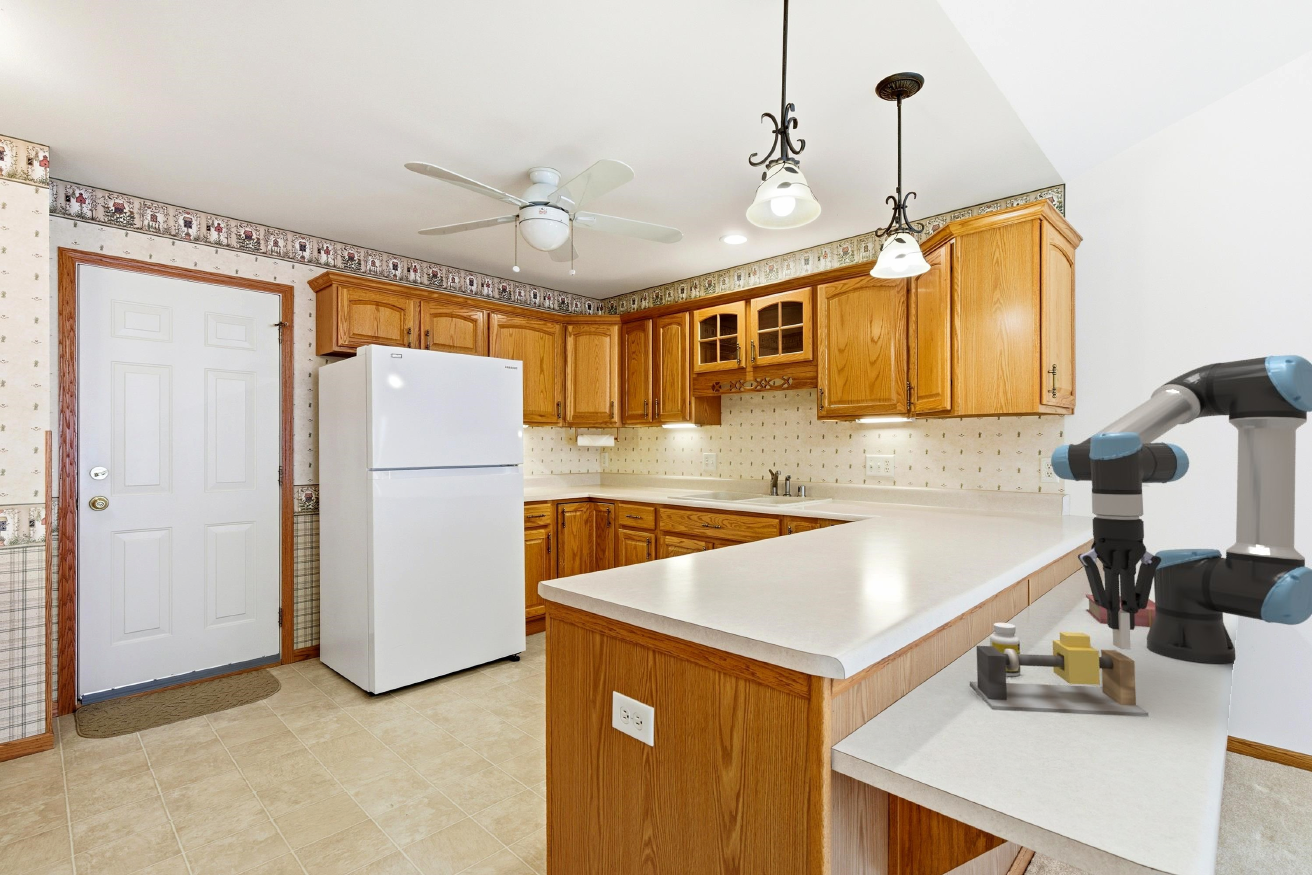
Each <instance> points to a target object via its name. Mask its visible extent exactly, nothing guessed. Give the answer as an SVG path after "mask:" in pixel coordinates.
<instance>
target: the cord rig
mask: <svg viewBox="0 0 1312 875" xmlns="http://www.w3.org/2000/svg"><path fill="white" fill-rule="evenodd" d="M1100 650H1101V651H1100V654H1101V655H1100V656H1099V670H1100V669H1101V682H1102V683H1101V684H1102V685H1101V686H1096V685H1094V686H1093V685H1092V686H1090V685H1070V684H1069V685H1064V684H1062V685H1061V684H1041V683H1039V684H1037V683H1019V682H1018V683H1015V682H1014V683H1012V682H1007V676H1006V668H1007V669H1008V670H1013V671H1017V670H1018V667H1019V666H1020V667H1021V666H1022V667H1023V666H1024V667H1050V668H1053V667H1064V656H1057V655H1053V654H1024V653H1022V654H1021V653H1020V654H1017V653H1016V651H1015V650H1014V649H1005V650H1004V654H1002V653H1001V652H1000V651H998V650H997V649H996V648H995V647H994V646H990V645H976V671H977V672H976V673H977V676H976V677H977V678H976V679H977V681H969V686H971V687H972V689H973V690H974V691H975V692H976V693H977V694H978V695H979V696H980V697H981V698H982V700H983V701H984V702H985V703H986V704H987V705H988V706H989V707H990V708H991V710H1003V711H1004V710H1005V711H1023V712H1024V711H1025V712H1027V711H1028V712H1042V713H1043V712H1047V713H1064V714H1065V713H1066V714H1068V713H1070V714H1088V715H1089V714H1090V715H1091V714H1093V715H1107V716H1109V715H1110V716H1111V715H1112V716H1131V717H1132V716H1134V717H1149V715H1150V714H1149V712H1147V711H1146V710H1145V709H1144V708H1142V707H1140V706H1139V705H1137V696H1136V695H1137V694H1136V693H1137V692H1136V691H1137V690H1136V672H1135V671H1136V669H1135V667H1136V666H1135V660H1134V659H1132V658H1131V657H1129V656H1127V655H1125V654H1123V653H1121V652H1119V651H1118V650H1116V649H1100Z"/></svg>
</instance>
